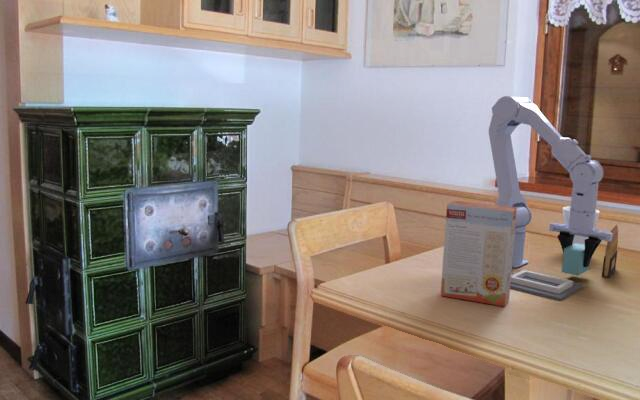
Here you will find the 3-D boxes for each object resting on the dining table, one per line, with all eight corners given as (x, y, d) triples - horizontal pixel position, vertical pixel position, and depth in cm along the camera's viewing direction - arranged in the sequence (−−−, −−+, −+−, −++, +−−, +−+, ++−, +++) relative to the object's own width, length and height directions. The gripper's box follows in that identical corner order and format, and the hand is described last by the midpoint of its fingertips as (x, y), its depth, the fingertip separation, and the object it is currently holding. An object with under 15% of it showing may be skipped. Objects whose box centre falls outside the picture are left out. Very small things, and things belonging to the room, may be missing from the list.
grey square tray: (497, 284, 146) (497, 277, 146) (522, 273, 157) (523, 266, 156) (560, 300, 137) (561, 292, 136) (582, 287, 147) (583, 280, 147)
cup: (562, 247, 186) (567, 204, 184) (598, 253, 180) (603, 209, 178) (553, 253, 178) (558, 209, 176) (590, 260, 172) (595, 214, 170)
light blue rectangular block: (561, 272, 152) (564, 248, 151) (573, 266, 158) (576, 243, 157) (578, 275, 149) (580, 251, 148) (589, 269, 155) (592, 246, 154)
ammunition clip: (609, 277, 156) (615, 231, 154) (601, 276, 157) (607, 230, 155) (615, 268, 165) (620, 224, 163) (607, 267, 166) (613, 223, 164)
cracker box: (509, 300, 136) (518, 206, 132) (504, 308, 130) (513, 210, 127) (446, 289, 142) (453, 199, 138) (439, 296, 136) (446, 203, 133)
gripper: (546, 207, 153) (541, 260, 155) (608, 217, 143) (601, 273, 146) (557, 204, 158) (552, 256, 160) (618, 213, 149) (611, 268, 151)
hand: (576, 264), depth 153 cm, fingers closed on light blue rectangular block, 4 cm apart
